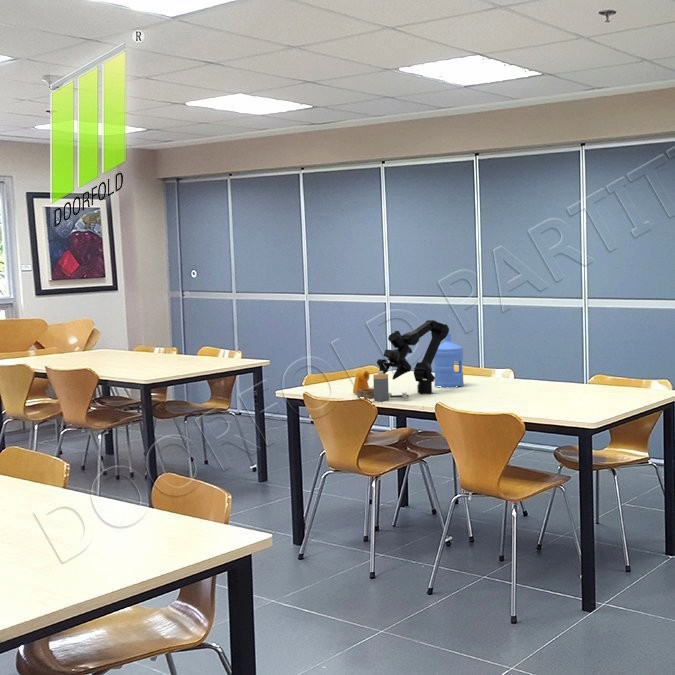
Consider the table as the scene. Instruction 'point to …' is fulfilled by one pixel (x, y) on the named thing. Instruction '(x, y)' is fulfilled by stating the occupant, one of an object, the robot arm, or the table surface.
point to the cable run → (397, 395)
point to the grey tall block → (381, 387)
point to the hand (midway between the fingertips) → (386, 378)
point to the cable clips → (402, 394)
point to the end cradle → (365, 393)
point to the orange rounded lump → (361, 381)
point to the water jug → (448, 364)
